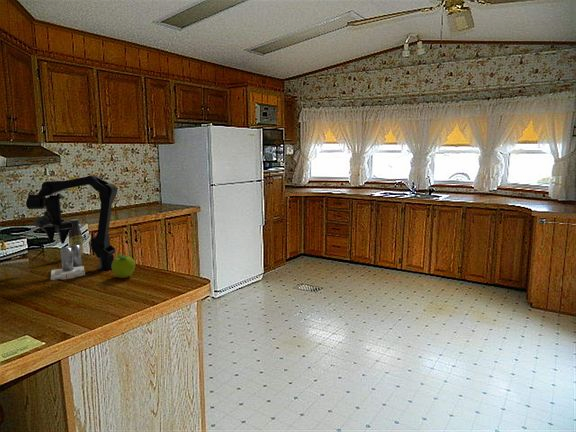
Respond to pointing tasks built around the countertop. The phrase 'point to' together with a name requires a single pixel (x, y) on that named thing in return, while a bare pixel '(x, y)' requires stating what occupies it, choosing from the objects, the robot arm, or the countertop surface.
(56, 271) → the scale
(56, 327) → the countertop surface
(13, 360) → the countertop surface
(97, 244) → the robot arm
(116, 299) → the countertop surface
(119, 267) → the fruit
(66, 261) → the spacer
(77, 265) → the cylinder
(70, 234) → the sauce bottle
